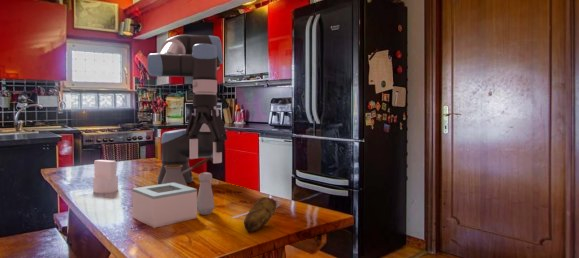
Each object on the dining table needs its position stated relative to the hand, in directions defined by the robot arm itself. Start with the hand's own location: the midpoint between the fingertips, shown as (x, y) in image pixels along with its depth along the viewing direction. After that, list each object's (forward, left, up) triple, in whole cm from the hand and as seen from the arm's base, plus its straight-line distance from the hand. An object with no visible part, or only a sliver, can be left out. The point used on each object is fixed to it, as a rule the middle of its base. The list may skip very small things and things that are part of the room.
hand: (205, 160), depth 125 cm
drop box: (+12, -4, -17) cm, 21 cm away
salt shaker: (0, 0, -17) cm, 17 cm away
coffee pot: (-5, -20, -17) cm, 27 cm away
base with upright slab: (+11, -55, -17) cm, 59 cm away
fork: (-12, +10, -18) cm, 24 cm away
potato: (-3, +23, -17) cm, 29 cm away
